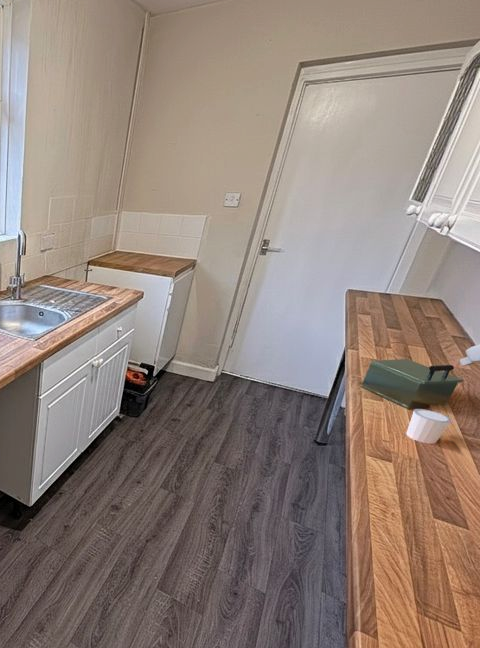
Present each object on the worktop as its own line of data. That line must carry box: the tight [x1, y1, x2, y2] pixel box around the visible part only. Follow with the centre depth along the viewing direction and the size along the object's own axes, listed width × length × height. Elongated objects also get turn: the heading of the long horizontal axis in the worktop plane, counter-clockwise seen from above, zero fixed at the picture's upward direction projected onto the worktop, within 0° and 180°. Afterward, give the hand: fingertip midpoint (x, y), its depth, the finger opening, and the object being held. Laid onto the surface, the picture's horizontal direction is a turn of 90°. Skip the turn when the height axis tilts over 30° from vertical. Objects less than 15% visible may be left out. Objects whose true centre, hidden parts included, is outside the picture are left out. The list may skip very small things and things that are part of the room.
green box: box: [360, 362, 459, 410], centre depth 129 cm, size 15×13×9 cm
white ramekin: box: [405, 408, 452, 445], centre depth 108 cm, size 7×7×7 cm
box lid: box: [370, 358, 464, 384], centre depth 126 cm, size 15×13×5 cm
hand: (478, 361), depth 112 cm, fingers open, 8 cm apart
